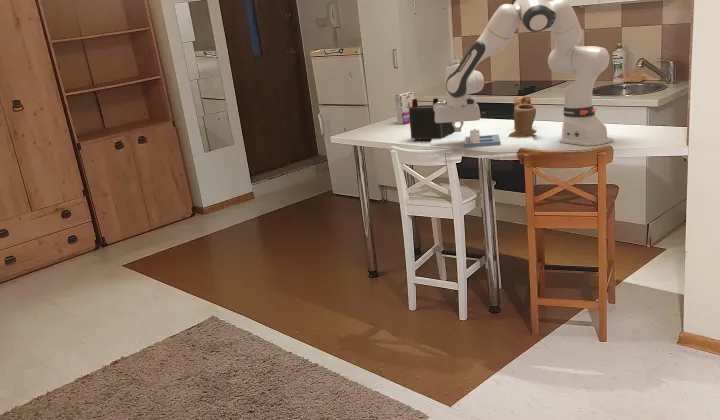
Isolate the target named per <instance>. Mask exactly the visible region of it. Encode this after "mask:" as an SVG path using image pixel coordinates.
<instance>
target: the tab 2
mask: <svg viewBox="0 0 720 420" xmlns="http://www.w3.org/2000/svg"><path fill="white" fill-rule="evenodd" d="M469 136H470V143H471V142H480V136H481V135H480V132H479V133H476V132H474V133H471V134H470V133H469Z"/></svg>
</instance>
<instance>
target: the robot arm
mask: <svg viewBox="0 0 720 420" xmlns="http://www.w3.org/2000/svg"><path fill="white" fill-rule="evenodd" d="M521 25H523V26H524V27H525V28H526V30H528V31H529V32H531V33H538V32H539V33H540V32H542V31H544V30H547V29H549V31H550V33H551V37H552V39H553V42H554V49H553V50H551V52H550V53H549V55H548V58H547V65H548V68H549V69H550V70H551V72H553V73H558V74H566V75H567V74H568V75H569V74H573V75H574V74H576V78H575V80H574V81H573V82H571V83H570V84H569V83H568V85H567V86H566V87H565V89H564V107H563V116H564V119H563V122H562V129H561V137H560V140H559V143H562V144H563V143H564V144H570V145H579V146H586V147H590V146H598V145H604V144H605V145H606V144H608V143H611V142H614V138H613V137H610V136H608V130H607V126H606V125H605V124H604V123H603V122H602V121H601V120H600V119H599V118H598V117H597V116H596V112H597V108H594V105H593V89H594V86H595V82H596V80H597V78H598V77H599V75H600V74H602V72H604V71H605V70H606V69H607V68H608V66H609V63H610V54H609V52H608V50H607V48H605V47H601V46H597V45H595V46H594V45H588V46H587V45H585V46H583V45H582V46H577V45H578V44H579V43H580V42H581V40H582V38H583V30H582V27H581V24H580V21H579V19H578V16H577V15H576V12H575V10H574V9H573V7H572V5H571V4H570V2H569V1H568V0H551V1H549V0H548V1H547V0H512V1H511V3H503V4H501V5H500V6H499V7H498V8H497V9H496V11H495V12H494V13H493V15H492V17H491V18H490V19H489V21H488V22H487V25H486V27H485V28H484V30H483V31H482V32H481V34H480V36H479V37H478V38H477V40H476V41H474V43H473V44H472V46H471V47H470V48H469V49H468V51H467V52H466V54H465V55H464V57H463V58H462V60H461V61H460V62H456V63H452V64H449V65H447V66H446V68H445V75H444V77H445V88H446V91H445V92H446V93H445V99H446V101H438V102H436V103H435V104H437V105H435V104H434V105H433V104H432V105H433V110H434V112H435V122H436V123H448V122H452V125H453V127H454V128H455V132H454V133H460V132H462V127H463V126H464V122H474V121H477V122H478V121H480V120H481V118H482V117H481V111H480V107H479V105H478V99H477V98H476V97H474V96H471V95H473V94H476V93H479V92H481V91H482V90H483V89H484V88H485V83H486V82H485V76H484V75H483V73H482V72H481V71H480V70H475V69H476V68H477V67H478V66H479V64H480V63H481V62H482V61H484V60H485V59H487V58H489V57H491V56H494V55H495V54H498V53H500V52H502V51H503V50H504V49H505V48H506V47H507V46H508V44H509V42H510V41H511V39H512V38H513V36H514V34H515V31H516V30H517V29H518V28H519V27H520V26H521ZM469 95H470V96H469ZM458 122H459V123H460V125H459V127H456V123H458Z"/></svg>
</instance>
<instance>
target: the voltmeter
mask: <svg viewBox="0 0 720 420" xmlns="http://www.w3.org/2000/svg"><path fill="white" fill-rule="evenodd" d="M432 101H433V102H432V105H430V104H427V105H419V103H418V99H417V98H415V99H412V107H410V108H409V117H410V123H409V126H410V127H409V129H410V139H412V140H413V139H414V141H415V142H419V141H420V139H423V140H424V139H425V140H426V139H427V140H429V139H430V140H432V139H434V140H436V139H438V140H439V139H441V140H442V139H444V138H447V137H448V136H450V135H451V136H452V135H453V134H455V133H456V132H455V128H454V127H453V125H452V122H448V123H436V122H435V112H434V110H433V105H434V104H435V103H436V102H439V98H438V97H437V98H433V99H432ZM435 105H437V104H435Z"/></svg>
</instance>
